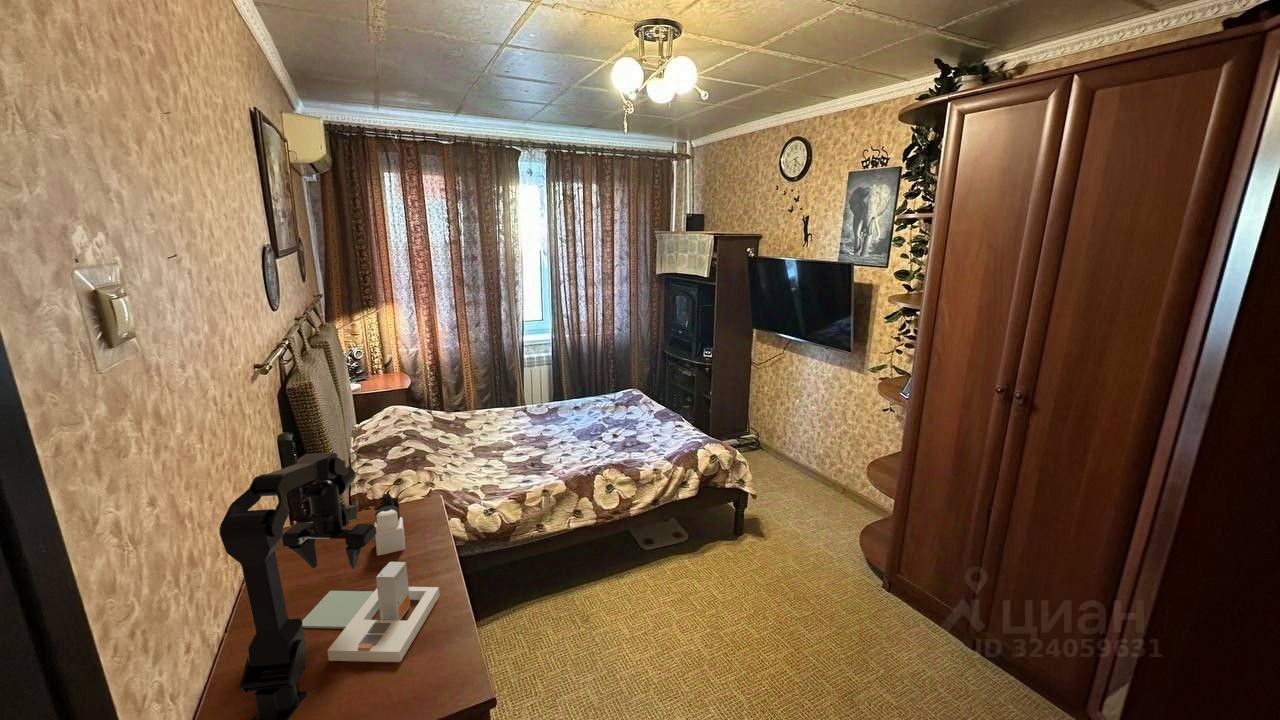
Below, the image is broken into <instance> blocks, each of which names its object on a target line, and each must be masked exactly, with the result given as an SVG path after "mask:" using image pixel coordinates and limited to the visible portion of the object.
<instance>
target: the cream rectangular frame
mask: <svg viewBox="0 0 1280 720" xmlns="http://www.w3.org/2000/svg"><path fill="white" fill-rule="evenodd" d="M408 587H409V597H410V601H411V600H413V601H418V604H416V606H415V608H414V609H413V611H412V613H411V614H410V615H409V617H408V619H407V620H404V619H403V620H402V619H401V620H381V619H373V618H374V617H375V615H376V614H377V612H378V611H380V609H379V600H378V590H377V587H376V588H375V590H374V592H373V593H372V595H371V596H370V597H369V599H368V600H367V601H366V602H365V604H364V605H363V606H362V607H361V609H360V610H359V611H358V612H357V614H356V615H355V616H354V617H353V619H352V620H351V621H350V623H349V624H348V625H347V626H346V628H345V629H342V631H341V633H340V634H339V635H338V636H337V638H336V639H335V640H334V641H333V643H332V644H331V645H330V646H329V648H328V649H327V658H328V661H330V662H372V663H373V662H376V663H378V662H379V663H381V662H382V663H401V662H402V660H403V658H404V657H405V655H406V654H407V652H408V650H409V648H410V647H411V645H412V643H413V642H414V641H415V639H416V637H417V635H418V633H419V632H420V631H421V629H422V627H423V625H424V623H425V622H426V620H427V618H428V616H429V615H430V614H431V611H432V610H433V608H434V606H435V605H436V603H437V602H438V601H439V598H440V597H439V596H440V587H439V586H438V587H437V586H408Z"/></svg>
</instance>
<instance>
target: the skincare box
mask: <svg viewBox="0 0 1280 720" xmlns="http://www.w3.org/2000/svg"><path fill="white" fill-rule="evenodd" d="M375 578H376V588H377V590H378V600H379V617H380V620H402V619H403V617H404V616H405V614H406V613H407V611H408V610H409V609H410V607H411V600H410V597H409V587H410V586H409V577H408V569H407V562H406V561H389V562H388V563H387V564H386V565H385V566H384V567H383V568H382V569H381V571H380V572H379V573H378V574H377V576H375Z"/></svg>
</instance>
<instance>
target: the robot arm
mask: <svg viewBox="0 0 1280 720" xmlns="http://www.w3.org/2000/svg"><path fill="white" fill-rule="evenodd" d="M356 474H357V473H356V471H355V470H354V468H353V467H352V466H351V465H348V464H346V460H344V459H342V458H340V457H338V453H336V452H324V453H323V452H322V453H305V454H304V455H302V456H300V457H299V458H298V459H297V460H296V463H295V464H292V465H289V466H287V467H284V468H280V469H277V470H274V471H272V472H269V473H263V474H259V475H257V476H255V477H254V479H253V480H252V481H251V484H250V485H249V488H248V489H246V491H244V492H243V493H242V494H241V495H239V496H238V497H237V498H236V499H235V500H234V501H232V503H231V504H230V506H229V507H228V509H227V511H226V513H225V515H224V518H223V519H222V521H221V523H220V525H219V529H218V531H219V533H218V534H219V536H220V540H221V542H222V545H223V548H224V550H225V552H226V554H227V555H229V556H230V557H231V558H233V559H234V560H235V561H237V563H239V564H240V566H241V570H242V574H243V579H244V584H245V588H246V592H247V597H248V601H249V602H248V603H249V607H250V612H251V617H252V620H253V626H254V630H255V631H254V632H255V634H254V636H253V637H252V639H251V642H250V644H249V645H248V646H247V657H246V663H245V666H244V668H243V669H244V670H243V673H242V675H241V679H240V680H241V681H240V683H239V684H240V685H239V690H240V691H241V692H242V693H243V694H244V693H251V692H252V693H253V692H255V693H254V699H255V703H256V709H257V712H255V714H254V715H253V716H252V718H251V719H250V720H289V719H290V718H291V716H292V715H293V714H294V712H296V710H297V708H298V707H299V706H300V705H301V703H302V702H303V701H304V700H305V698H306V697H307V695H308V691H306V690H300V684H299V680H300V678H301V677H302V675H303V673H304V672H305V669H306V666H307V665H306V664H307V663H306V661H307V642H306V640H305V637H306V633H305V632H304V631H305V630H304V628H303V626H302V621H303V620H301V618H289V617H288V612H287V611H288V610H287V606H286V600H285V596H284V590H283V585H282V580H281V575H280V571H279V565H278V560H277V554H276V550H277V548H278V546H279V544H280V543H281V542H282V543H281V544H282V547H288V549H289V550H292V551H293V552H295V553H296V554H297V555H298V556H299V557H301V558H302V559H303V560H304V561H305V562H306V563H307V565H309V566H310V568H312V569H315V568H317V567H318V558H317V557H318V556H317V552H316V551H317V550H316V544H315V542H316V540H329V539H335V540H337V539H342V540H345V545H347V547H345V551H346V552H345V553H346V555H347V558H348V563H349V566H350V567H351V570H354V569H355V568H356V567H357V564H358V561H359V557H360V554H361V550H362V548H364V547H366V546H367V544H369V542H370V541H372V540H373V538H375V537H374V536H375V535H376V534H377V533H376V527H375V524H373V523H357V524H356V525H355V526H354V527H353V528H352V529H347V528H346V529H345V528H344V527H347V526H349V524H350V521H353V520H357V518H358V505H356V504H355V505H354V504H353V505H352V504H351V505H350V504H349V505H348V504H344V503H341V499H340V495H342V494H343V493H344V492H345V491H346V490H347V489H348V488H349V487H350V486H351V485H352V483H354V481H355V479H356V477H357V475H356ZM313 481H315V482H314V483H311V482H313ZM308 483H311V484H309V486H308V488H307V490H305V492H304V494H303V496H304V498H308V500H309V506H310V508H309V509H310V514H309V515H308V516H307V520H308V522H296V523H295V524H294V525H292V526H291V527H290V528H288V529H287V530H286V531H285V532H284V531H283V530H284V528H285V527H284V526H285V524H286V522H287V519H288V517H289V514H290V513H291V512H290V511H291V510H290V506H289V504H288V500H287V496H288V493H289V491H291V490H294V489H296V488H299V487H301V486H303V485H305V484H308ZM275 496H277V499H278V500H277V501H278V503H277V506H276V508H273V509H272V508H270V509H269V508H268V509H252V510H250V509H251V508H253V506H254V505H256V504H257V503H259V501H260V500H261V498H263V497H275Z"/></svg>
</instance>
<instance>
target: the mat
mask: <svg viewBox="0 0 1280 720" xmlns="http://www.w3.org/2000/svg"><path fill="white" fill-rule="evenodd" d="M374 591H375V590H374ZM374 591H373V590H372V591H371V590H369V591H367V590H366V591H362V590H361V591H360V590H329V591H328V593H327V594H326V595H324V597H323V598H322V599H321V600H320V601H319V602H318V603H317V604H316V605H315V606H314V608H313V609H311V611H310V612H309V613H308V614H307V615H306V616H305V618H303V620H301V621H302V626H303V629H305V628H306V629H336V630H338V629H339V630H344V629H345V628H346V626H347V625H348V624H349V623H350V621H351V620H352V619H353V617H354V616H355V615H356V614H357V612H358V611H359V610H360V609H361V607H362V606H363V605H364V604H365V602H366V601H367V600H368V599H369V597H370V596H371V595H372V593H373V592H374Z"/></svg>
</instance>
